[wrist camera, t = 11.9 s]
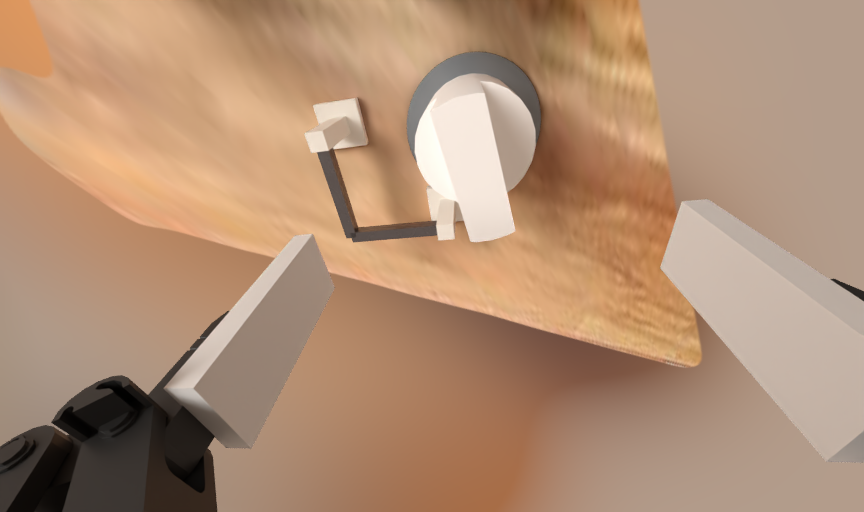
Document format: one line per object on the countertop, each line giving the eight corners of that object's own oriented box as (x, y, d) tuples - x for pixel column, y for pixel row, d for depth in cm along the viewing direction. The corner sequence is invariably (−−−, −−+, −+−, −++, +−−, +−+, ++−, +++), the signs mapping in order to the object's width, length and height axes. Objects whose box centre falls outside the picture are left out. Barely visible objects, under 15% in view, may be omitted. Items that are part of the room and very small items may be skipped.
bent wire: (318, 137, 26) (313, 141, 25) (432, 122, 24) (431, 125, 23) (351, 237, 31) (348, 242, 30) (447, 229, 29) (446, 234, 29)
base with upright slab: (408, 95, 27) (376, 125, 17) (512, 55, 25) (544, 64, 15) (440, 188, 32) (430, 255, 22) (530, 162, 30) (564, 223, 20)
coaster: (395, 64, 27) (394, 64, 26) (543, 39, 25) (544, 39, 24) (419, 195, 33) (418, 198, 33) (536, 183, 31) (537, 186, 31)
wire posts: (304, 129, 30) (269, 148, 25) (329, 75, 27) (296, 84, 22) (452, 234, 35) (450, 268, 30) (486, 198, 33) (491, 228, 27)
